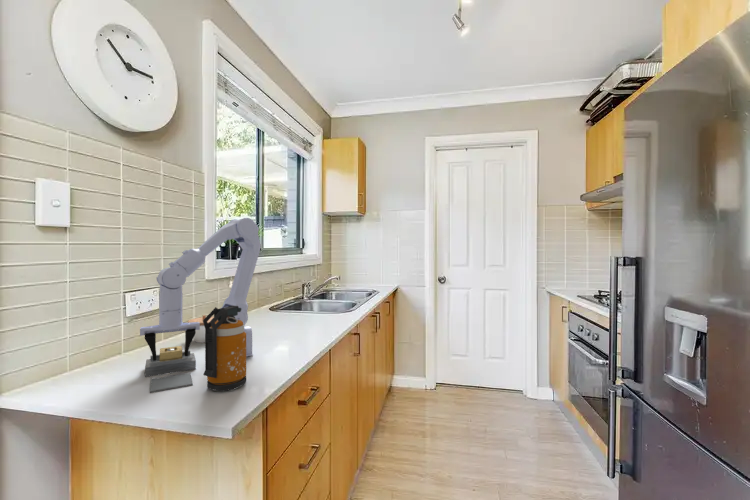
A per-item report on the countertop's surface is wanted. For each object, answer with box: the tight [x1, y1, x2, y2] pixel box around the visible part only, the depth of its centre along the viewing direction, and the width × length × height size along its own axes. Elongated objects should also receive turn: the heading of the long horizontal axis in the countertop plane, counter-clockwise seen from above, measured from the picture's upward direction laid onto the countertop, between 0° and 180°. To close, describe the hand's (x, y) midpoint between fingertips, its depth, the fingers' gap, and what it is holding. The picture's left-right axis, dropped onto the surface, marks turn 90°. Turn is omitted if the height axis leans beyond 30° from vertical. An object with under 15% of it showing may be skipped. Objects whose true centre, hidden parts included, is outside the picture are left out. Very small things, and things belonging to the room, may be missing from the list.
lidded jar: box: [187, 314, 218, 344], centre depth 129 cm, size 11×11×9 cm
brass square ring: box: [159, 345, 183, 361], centre depth 98 cm, size 5×5×3 cm
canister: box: [203, 306, 247, 392], centre depth 85 cm, size 9×11×20 cm
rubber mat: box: [149, 372, 194, 394], centre depth 88 cm, size 9×9×1 cm
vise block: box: [144, 349, 197, 378], centre depth 98 cm, size 12×8×6 cm, turn 121°
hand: (170, 357), depth 98 cm, fingers open, 7 cm apart
